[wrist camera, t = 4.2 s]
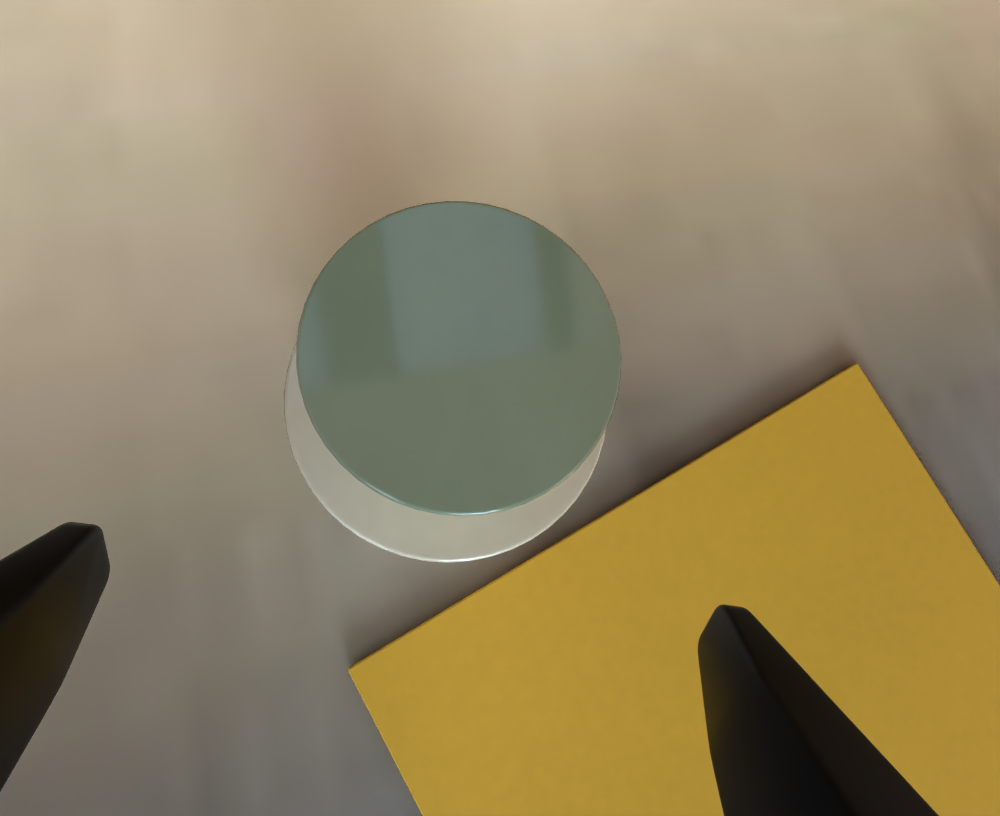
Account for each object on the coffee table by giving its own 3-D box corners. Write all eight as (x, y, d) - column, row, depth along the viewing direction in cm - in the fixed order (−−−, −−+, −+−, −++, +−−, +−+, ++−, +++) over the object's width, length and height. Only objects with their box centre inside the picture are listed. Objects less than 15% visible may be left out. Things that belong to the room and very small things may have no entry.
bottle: (397, 581, 19) (371, 662, 7) (318, 432, 19) (160, 258, 7) (542, 496, 20) (746, 435, 8) (464, 357, 20) (539, 96, 8)
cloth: (639, 1233, 17) (643, 1246, 16) (348, 667, 18) (347, 669, 18) (1127, 797, 21) (1138, 801, 20) (851, 364, 22) (857, 362, 22)
